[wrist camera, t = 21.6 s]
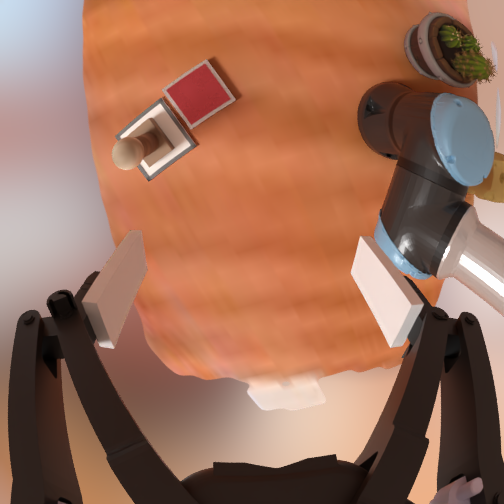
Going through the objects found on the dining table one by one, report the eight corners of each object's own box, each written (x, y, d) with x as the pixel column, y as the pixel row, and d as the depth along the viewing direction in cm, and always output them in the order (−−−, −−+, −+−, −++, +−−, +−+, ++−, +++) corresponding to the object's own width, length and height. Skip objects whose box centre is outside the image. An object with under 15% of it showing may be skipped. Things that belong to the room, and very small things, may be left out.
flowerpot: (389, 12, 32) (452, -12, 14) (447, 34, 32) (513, 29, 15) (393, 76, 39) (463, 74, 22) (449, 93, 39) (519, 105, 22)
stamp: (175, 147, 45) (151, 165, 32) (153, 164, 46) (124, 188, 33) (153, 117, 42) (120, 123, 29) (132, 134, 43) (94, 148, 30)
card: (196, 145, 45) (196, 146, 45) (149, 180, 48) (148, 181, 47) (161, 97, 40) (161, 97, 40) (115, 136, 43) (114, 136, 42)
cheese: (461, 189, 50) (488, 205, 42) (465, 145, 45) (494, 156, 36) (485, 189, 50) (511, 204, 42) (490, 148, 45) (517, 160, 36)
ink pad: (236, 100, 42) (236, 100, 40) (191, 129, 44) (190, 129, 42) (207, 60, 38) (206, 58, 36) (163, 90, 40) (161, 89, 38)
